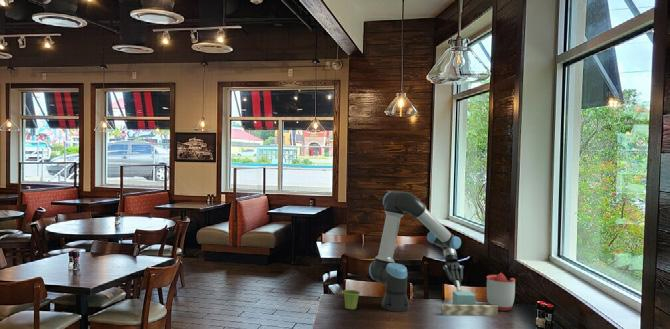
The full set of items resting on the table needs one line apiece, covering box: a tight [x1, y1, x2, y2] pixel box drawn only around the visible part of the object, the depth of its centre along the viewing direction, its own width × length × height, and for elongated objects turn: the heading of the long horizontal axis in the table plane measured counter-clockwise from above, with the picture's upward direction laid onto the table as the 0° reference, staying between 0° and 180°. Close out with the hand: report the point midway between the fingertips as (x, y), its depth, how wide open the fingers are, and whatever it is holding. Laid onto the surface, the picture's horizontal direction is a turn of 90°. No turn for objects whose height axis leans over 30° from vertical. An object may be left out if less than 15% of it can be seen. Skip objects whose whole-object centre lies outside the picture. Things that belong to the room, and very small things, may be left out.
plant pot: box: [342, 289, 361, 310], centre depth 246 cm, size 9×9×9 cm
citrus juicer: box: [486, 272, 516, 312], centre depth 256 cm, size 16×17×20 cm
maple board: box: [440, 304, 499, 317], centre depth 241 cm, size 30×2×5 cm, turn 93°
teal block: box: [451, 290, 476, 305], centre depth 250 cm, size 10×8×9 cm
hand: (459, 291), depth 261 cm, fingers closed
